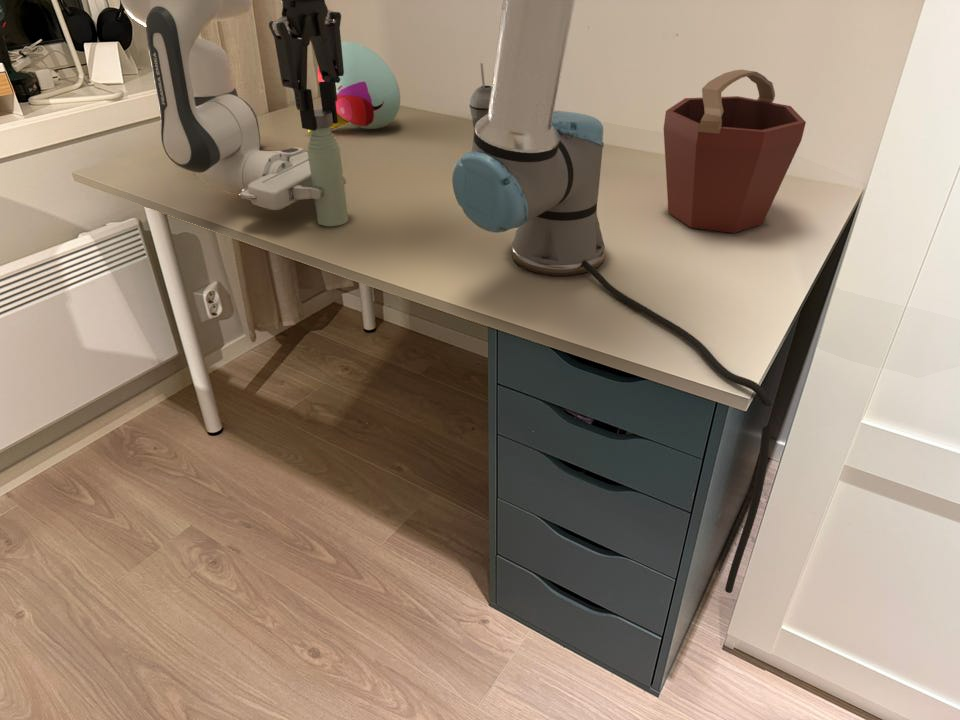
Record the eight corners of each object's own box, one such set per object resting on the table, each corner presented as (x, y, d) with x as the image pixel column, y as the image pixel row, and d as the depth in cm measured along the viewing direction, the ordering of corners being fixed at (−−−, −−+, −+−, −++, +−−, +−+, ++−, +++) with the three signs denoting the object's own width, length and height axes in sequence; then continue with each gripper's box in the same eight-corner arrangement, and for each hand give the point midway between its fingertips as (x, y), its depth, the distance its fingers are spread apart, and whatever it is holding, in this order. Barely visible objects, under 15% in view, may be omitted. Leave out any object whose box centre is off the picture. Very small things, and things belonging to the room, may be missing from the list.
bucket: (710, 250, 119) (740, 96, 105) (622, 208, 134) (638, 69, 120) (804, 218, 129) (843, 75, 115) (713, 183, 145) (736, 53, 131)
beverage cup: (489, 165, 155) (489, 69, 144) (463, 159, 159) (461, 64, 148) (508, 156, 160) (510, 63, 149) (483, 150, 164) (482, 59, 152)
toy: (277, 110, 181) (275, 51, 163) (352, 72, 191) (358, 13, 173) (336, 175, 178) (341, 122, 160) (410, 134, 188) (421, 79, 170)
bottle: (347, 213, 134) (335, 110, 123) (348, 224, 129) (336, 119, 118) (317, 215, 133) (302, 112, 122) (317, 227, 128) (302, 121, 118)
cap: (301, 125, 121) (299, 113, 120) (321, 120, 124) (319, 107, 123) (319, 130, 119) (317, 117, 117) (338, 124, 121) (337, 111, 120)
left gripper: (229, 177, 122) (294, 189, 117) (301, 144, 138) (361, 153, 133) (237, 212, 126) (300, 224, 121) (306, 176, 141) (364, 185, 136)
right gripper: (272, -22, 100) (297, 141, 113) (357, -33, 112) (370, 117, 125) (237, -25, 104) (266, 134, 117) (323, -35, 116) (340, 110, 129)
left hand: (332, 187), depth 127 cm, fingers closed on bottle, 5 cm apart
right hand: (320, 125), depth 121 cm, fingers closed on cap, 4 cm apart
